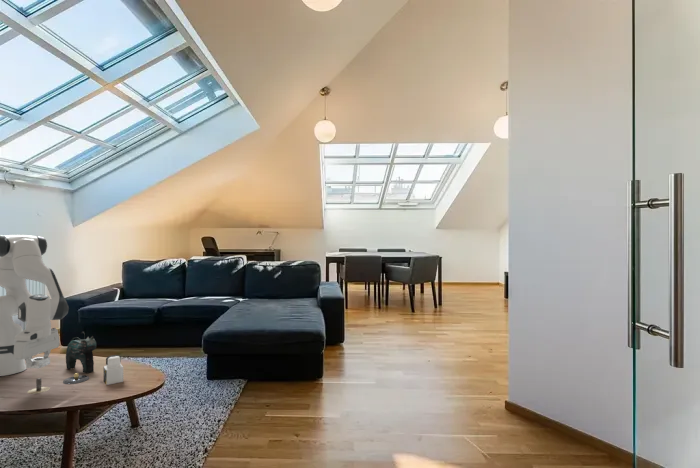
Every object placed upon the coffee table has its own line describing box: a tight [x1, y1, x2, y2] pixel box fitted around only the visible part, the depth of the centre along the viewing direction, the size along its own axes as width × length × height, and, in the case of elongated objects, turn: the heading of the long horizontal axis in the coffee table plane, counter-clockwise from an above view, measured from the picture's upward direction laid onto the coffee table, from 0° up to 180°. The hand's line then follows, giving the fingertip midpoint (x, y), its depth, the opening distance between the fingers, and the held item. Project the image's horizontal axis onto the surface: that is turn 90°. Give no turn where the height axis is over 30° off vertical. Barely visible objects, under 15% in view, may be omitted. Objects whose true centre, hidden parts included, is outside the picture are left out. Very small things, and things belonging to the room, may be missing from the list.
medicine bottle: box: [103, 354, 124, 386], centre depth 189 cm, size 7×7×12 cm
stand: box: [26, 377, 51, 395], centre depth 176 cm, size 8×8×6 cm
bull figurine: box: [65, 331, 97, 374], centre depth 205 cm, size 20×6×20 cm, turn 64°
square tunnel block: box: [25, 356, 51, 369], centre depth 176 cm, size 6×6×3 cm
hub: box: [62, 372, 90, 385], centre depth 188 cm, size 10×10×4 cm
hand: (37, 363), depth 176 cm, fingers closed on square tunnel block, 6 cm apart
